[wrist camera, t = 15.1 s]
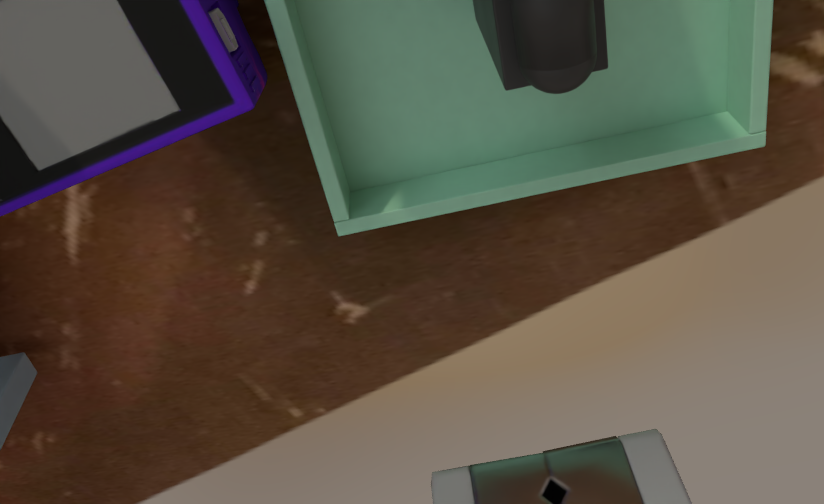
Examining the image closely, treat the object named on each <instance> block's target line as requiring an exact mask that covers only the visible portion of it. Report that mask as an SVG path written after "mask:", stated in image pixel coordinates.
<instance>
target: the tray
mask: <svg viewBox="0 0 824 504" xmlns="http://www.w3.org/2000/svg"><path fill="white" fill-rule="evenodd" d="M264 1H265V5H266V8H267V11H268V14H269V17H270V20H271V24H272V27H273V30H274V33H275V36H276V40H277V43H278V46H279V49H280V52H281V55H282V59H283V62H284V65H285V68H286V71H287V75H288V78H289V81H290V84H291V87H292V90H293V94H294V97H295V100H296V103H297V106H298V110H299V113H300V116H301V119H302V122H303V125H304V129H305V132H306V135H307V138H308V141H309V145H310V148H311V151H312V154H313V157H314V160H315V164H316V167H317V170H318V173H319V176H320V180H321V183H322V186H323V189H324V192H325V195H326V199H327V202H328V205H329V208H330V211H331V215H332V218H333V221H334V224H335V228H336V231H337V234H338V236H343V235H348V234H352V233H357V232H362V231H367V230H371V229H376V228H381V227H385V226H390V225H395V224H400V223H404V222H409V221H414V220H419V219H423V218H428V217H433V216H438V215H442V214H447V213H452V212H457V211H461V210H466V209H471V208H476V207H480V206H485V205H490V204H494V203H499V202H504V201H509V200H513V199H518V198H523V197H528V196H532V195H537V194H542V193H547V192H551V191H556V190H561V189H566V188H570V187H575V186H580V185H585V184H589V183H594V182H599V181H603V180H608V179H613V178H618V177H622V176H627V175H632V174H637V173H641V172H646V171H651V170H656V169H660V168H665V167H670V166H675V165H679V164H684V163H689V162H694V161H698V160H703V159H708V158H713V157H717V156H722V155H727V154H731V153H736V152H741V151H746V150H750V149H755V148H760V147H764V146H765V145H766V131H765V130H766V122H767V105H768V87H769V70H770V52H771V35H772V17H773V0H604V7H605V22H606V38H607V53H608V68H607V69H604V70H600V71H595V72H592V73H591V74H590V76H589V77H588V78H587V80H586V81H585V82H584V83H583V84H581V85H580V86H579V87H578V88H576V89H574V90H572V91H569V92H566V93H562V94H550V93H545V92H542V91H540V90H538V89H536V88H534V87H533V86H532V85H531V86H526V87H522V88H517V89H513V90H508V91H506V90H505V89H504V86H503V84H502V81H501V79H500V77H499V74H498V72H497V69H496V67H495V65H494V62H493V60H492V57H491V55H490V53H489V50H488V48H487V45H486V43H485V41H484V38H483V36H482V33H481V31H480V29H479V26H478V24H477V21H476V18H475V12H474V5H473V0H264Z"/></svg>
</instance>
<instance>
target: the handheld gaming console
mask: <svg viewBox="0 0 824 504" xmlns="http://www.w3.org/2000/svg"><path fill="white" fill-rule="evenodd" d="M238 5H239V4H238V0H0V216H3V215H5V214H7V213H10V212H12V211H14V210H17V209H19V208H21V207H24V206H26V205H28V204H31V203H33V202H36V201H38V200H40V199H43V198H45V197H47V196H50V195H52V194H54V193H57V192H59V191H61V190H64V189H66V188H69V187H71V186H73V185H76V184H78V183H80V182H83V181H85V180H87V179H90V178H92V177H94V176H97V175H99V174H102V173H104V172H106V171H109V170H111V169H113V168H116V167H118V166H120V165H123V164H125V163H127V162H130V161H132V160H134V159H137V158H139V157H142V156H144V155H146V154H149V153H151V152H153V151H156V150H158V149H160V148H163V147H165V146H167V145H170V144H172V143H175V142H177V141H179V140H182V139H184V138H186V137H189V136H191V135H193V134H196V133H198V132H200V131H203V130H205V129H208V128H210V127H212V126H215V125H217V124H219V123H222V122H224V121H226V120H229V119H231V118H233V117H236V116H238V115H240V114H243V113H245V112H248V111H250V110H252V109H253V108H254V107H255V105H256V103H257V101H258V99H259V97H260V95H261V93H262V91H263V89H264V87H265V85H266V82H267V73H266V70H265V68H264V65H263V63H262V61H261V58H260V56H259V54H258V52H257V50H256V48H255V46H254V44H253V42H252V40H251V38H250V36H249V34H248V32H247V30H246V28H245V26H244V24H243V21H242V19H241V17H240V15H239V12H238V10H237V7H238Z"/></svg>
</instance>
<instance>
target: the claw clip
mask: <svg viewBox="0 0 824 504" xmlns="http://www.w3.org/2000/svg"><path fill="white" fill-rule="evenodd" d="M473 5H474V12H475V18H476V21H477V24H478V26H479V29H480V31H481V33H482V36H483V38H484V41H485V43H486V45H487V48H488V50H489V53H490V55H491V57H492V60H493V62H494V65H495V67H496V69H497V72H498V74H499V77H500V79H501V81H502V84H503V86H504V89H505V90H506V91H508V90H513V89H517V88H522V87H526V86H531V85H532V86H533V87H534V88H536V89H538V90H540V91H542V92H545V93H550V94H562V93H566V92H569V91H572V90H574V89H576V88H578V87H579V86H580V85H581V84H583V83H584V82H585V81H586V80H587V78H588V77H589V76H590V74H591V73H592V72H595V71H600V70H604V69H607V68H608V53H607V38H606V22H605V7H604V0H473Z"/></svg>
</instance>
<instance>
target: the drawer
mask: <svg viewBox="0 0 824 504" xmlns="http://www.w3.org/2000/svg"><path fill="white" fill-rule="evenodd" d="M36 375H37V371H36V369H35V368H34V366H33V365H32V363H31V362H30V360H29V358H28V357H27V355H26V354H25V353H24V352H22V353H18V354H13V355H8V356H3V357H0V450H1V448H2V446H3V444H4V442H5V440H6V437H7V435H8V433H9V431H10V429H11V427H12V425H13V423H14V421H15V419H16V417H17V414H18V412H19V410H20V408H21V406H22V404H23V402H24V400H25V398H26V396H27V394H28V391H29V389H30V387H31V385H32V383H33V381H34V379H35V377H36Z"/></svg>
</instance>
